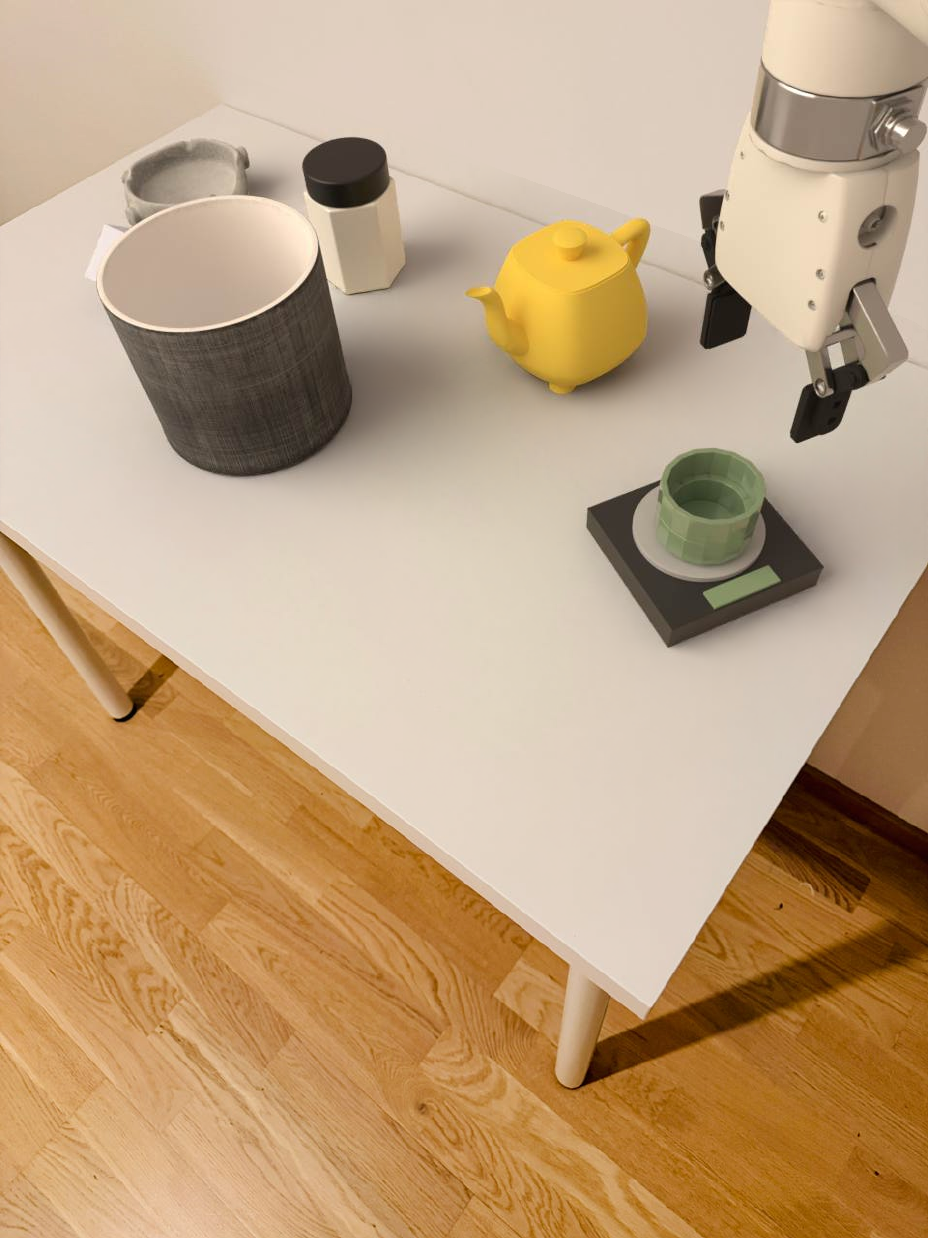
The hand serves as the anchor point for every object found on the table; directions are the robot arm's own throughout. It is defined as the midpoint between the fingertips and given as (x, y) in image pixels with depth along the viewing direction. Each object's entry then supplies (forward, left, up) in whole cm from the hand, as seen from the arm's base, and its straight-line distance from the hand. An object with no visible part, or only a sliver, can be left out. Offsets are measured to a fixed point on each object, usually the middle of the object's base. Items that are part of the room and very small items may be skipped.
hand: (765, 384), depth 57 cm
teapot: (+27, 0, -18) cm, 33 cm away
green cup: (+1, +1, -15) cm, 15 cm away
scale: (+1, +1, -18) cm, 18 cm away
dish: (+69, +26, -18) cm, 76 cm away
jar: (+49, +12, -18) cm, 54 cm away
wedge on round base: (+54, +32, -18) cm, 66 cm away
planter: (+34, +28, -18) cm, 48 cm away
